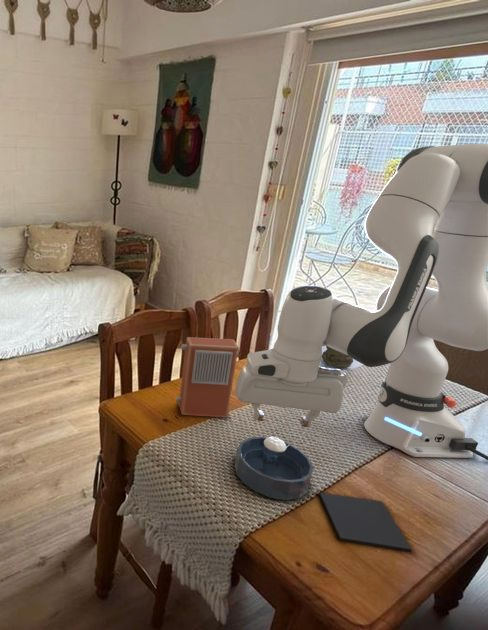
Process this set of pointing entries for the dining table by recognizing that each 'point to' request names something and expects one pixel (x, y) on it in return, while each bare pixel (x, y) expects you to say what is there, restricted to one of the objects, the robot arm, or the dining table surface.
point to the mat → (363, 522)
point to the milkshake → (272, 456)
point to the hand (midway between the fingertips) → (281, 422)
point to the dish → (290, 474)
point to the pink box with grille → (207, 376)
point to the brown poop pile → (336, 358)
